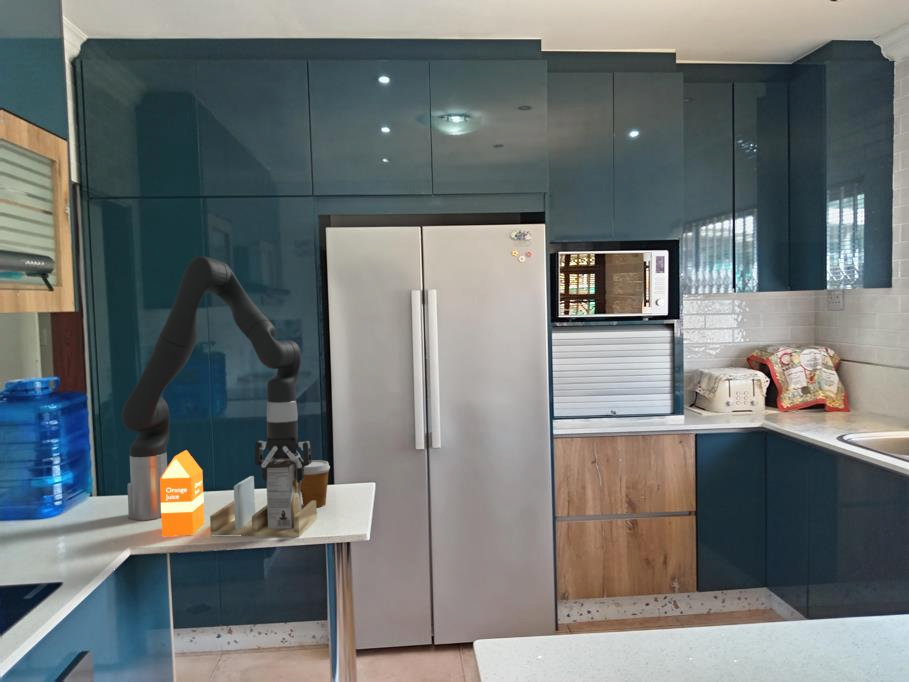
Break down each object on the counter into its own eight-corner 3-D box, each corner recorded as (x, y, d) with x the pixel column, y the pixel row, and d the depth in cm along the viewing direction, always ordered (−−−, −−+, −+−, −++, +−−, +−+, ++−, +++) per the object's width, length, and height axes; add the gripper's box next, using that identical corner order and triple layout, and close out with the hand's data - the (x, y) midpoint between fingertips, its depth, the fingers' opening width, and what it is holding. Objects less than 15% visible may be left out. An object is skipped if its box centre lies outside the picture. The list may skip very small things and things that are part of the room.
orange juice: (204, 524, 170) (202, 448, 169) (193, 535, 161) (190, 455, 160) (174, 525, 169) (171, 450, 169) (161, 536, 160) (158, 457, 160)
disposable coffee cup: (327, 509, 181) (326, 467, 180) (293, 510, 181) (292, 467, 180) (334, 500, 190) (333, 459, 190) (302, 500, 190) (300, 460, 190)
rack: (210, 535, 160) (210, 516, 160) (235, 518, 174) (234, 500, 174) (299, 536, 158) (298, 516, 158) (316, 519, 172) (316, 500, 172)
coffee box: (278, 518, 170) (276, 457, 170) (302, 517, 170) (300, 457, 170) (267, 529, 161) (265, 465, 161) (292, 529, 161) (290, 465, 160)
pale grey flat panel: (235, 529, 162) (233, 486, 161) (251, 517, 172) (250, 476, 171) (239, 529, 162) (237, 486, 161) (255, 517, 172) (253, 476, 171)
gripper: (249, 421, 162) (250, 485, 162) (304, 421, 160) (305, 485, 161) (261, 416, 169) (262, 477, 170) (314, 416, 168) (315, 478, 168)
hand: (283, 481), depth 165 cm, fingers open, 8 cm apart
